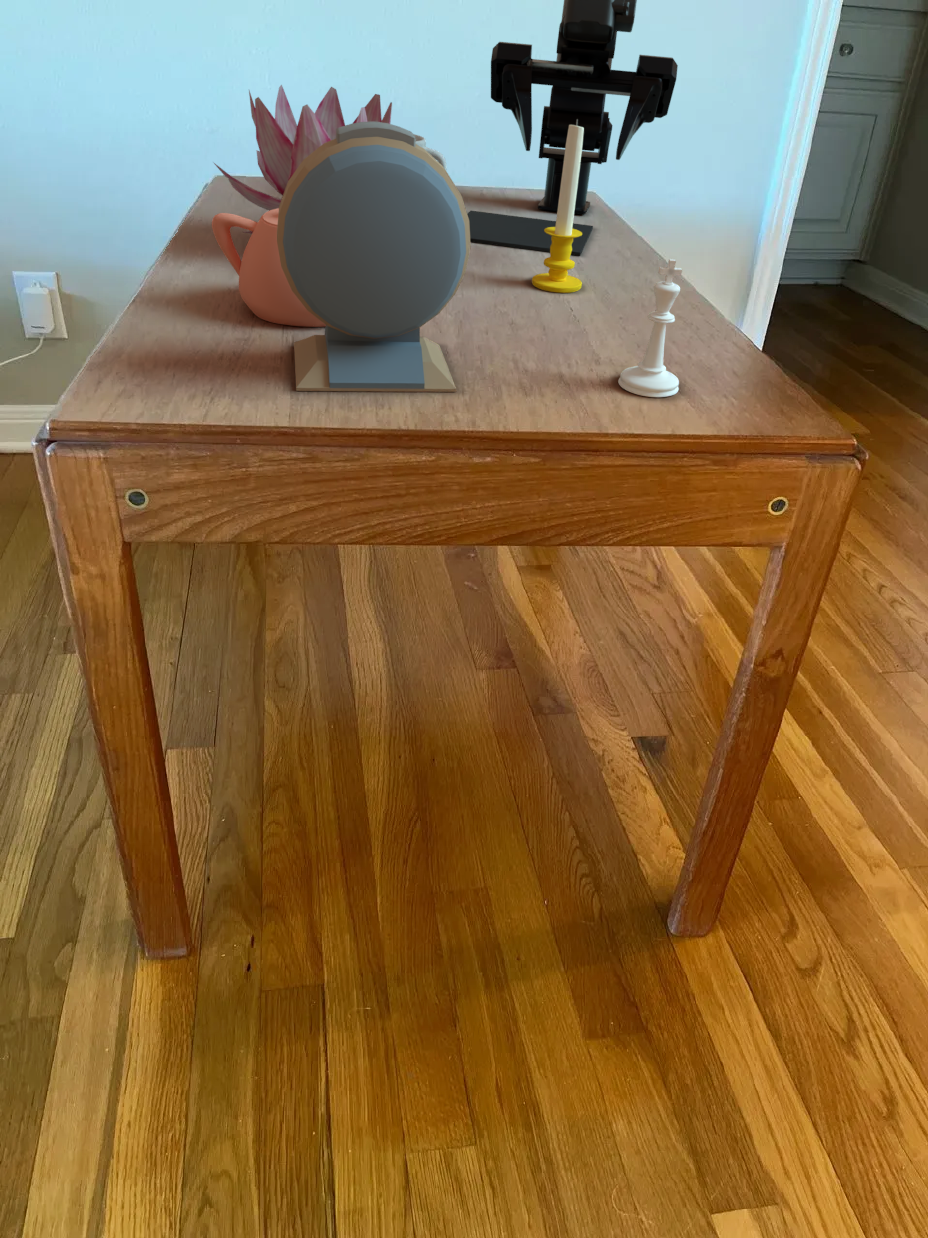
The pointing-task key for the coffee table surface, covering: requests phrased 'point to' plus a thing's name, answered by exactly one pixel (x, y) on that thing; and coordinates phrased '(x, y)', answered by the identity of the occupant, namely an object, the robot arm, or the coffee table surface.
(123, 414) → the coffee table surface
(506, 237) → the mat
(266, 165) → the decorative flower
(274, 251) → the teapot
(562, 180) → the candle
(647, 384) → the chess piece
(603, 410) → the coffee table surface
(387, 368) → the alarm clock
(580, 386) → the coffee table surface
